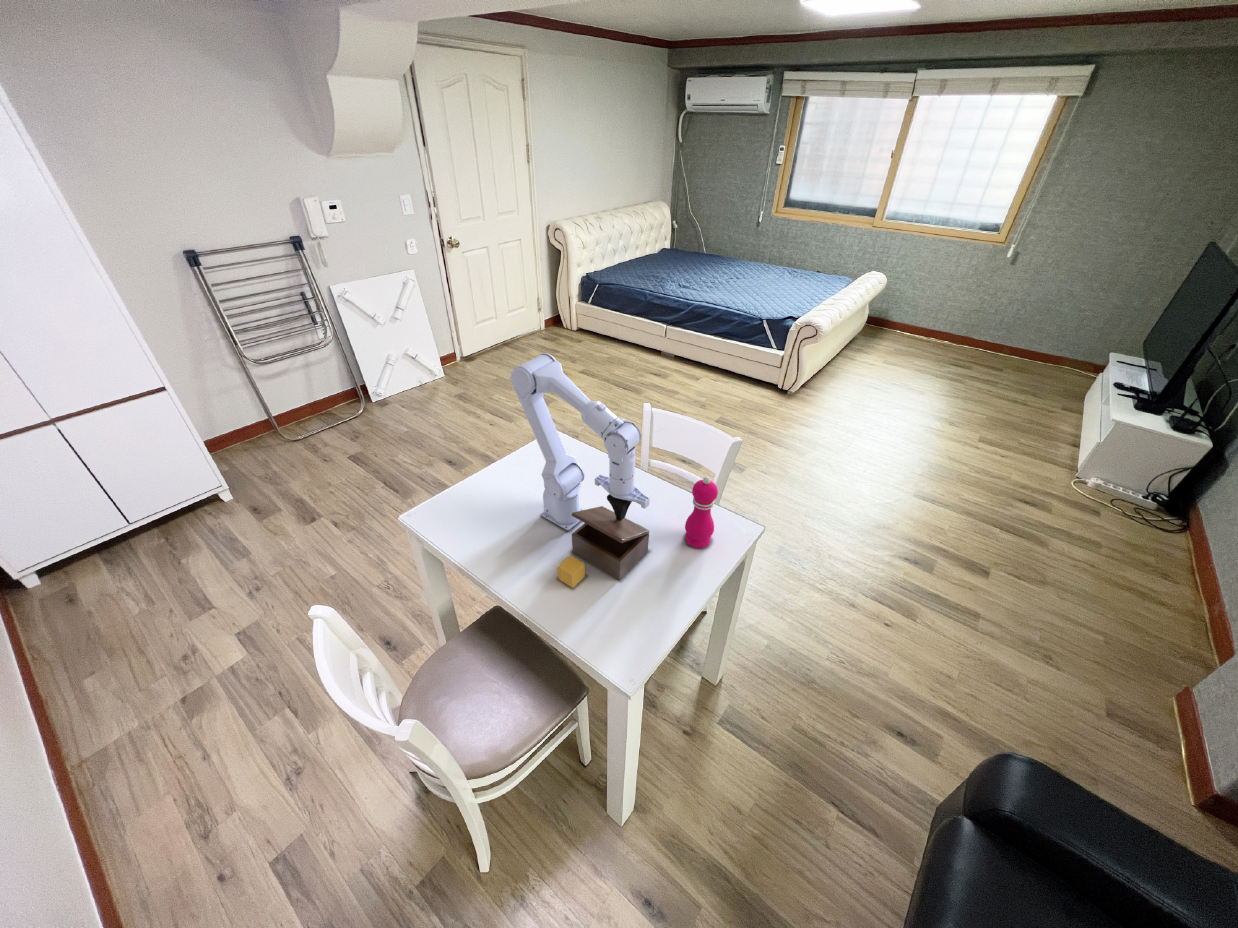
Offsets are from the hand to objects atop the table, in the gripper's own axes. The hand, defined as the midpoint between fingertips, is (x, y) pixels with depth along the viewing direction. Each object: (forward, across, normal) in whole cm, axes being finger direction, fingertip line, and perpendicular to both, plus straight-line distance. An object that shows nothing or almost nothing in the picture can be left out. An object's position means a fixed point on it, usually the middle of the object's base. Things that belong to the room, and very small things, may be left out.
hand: (620, 517), depth 118 cm
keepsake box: (+8, 0, +4) cm, 9 cm away
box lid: (-1, 0, +4) cm, 4 cm away
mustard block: (+8, +2, +16) cm, 18 cm away
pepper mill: (+9, -15, -13) cm, 22 cm away
